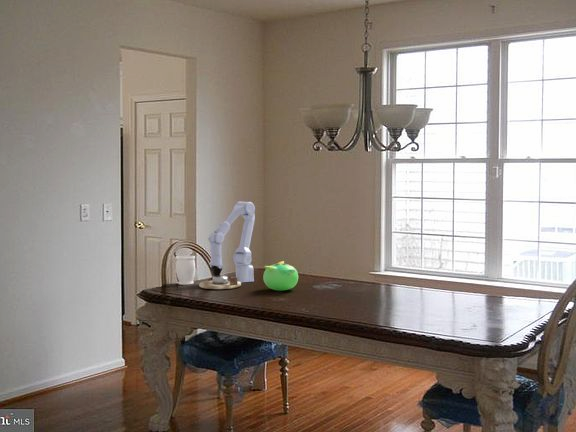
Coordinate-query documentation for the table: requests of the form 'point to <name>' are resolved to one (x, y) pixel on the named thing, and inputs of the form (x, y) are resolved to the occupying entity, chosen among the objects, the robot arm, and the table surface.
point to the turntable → (231, 284)
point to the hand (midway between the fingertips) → (216, 280)
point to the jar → (185, 269)
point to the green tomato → (280, 276)
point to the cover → (220, 280)
